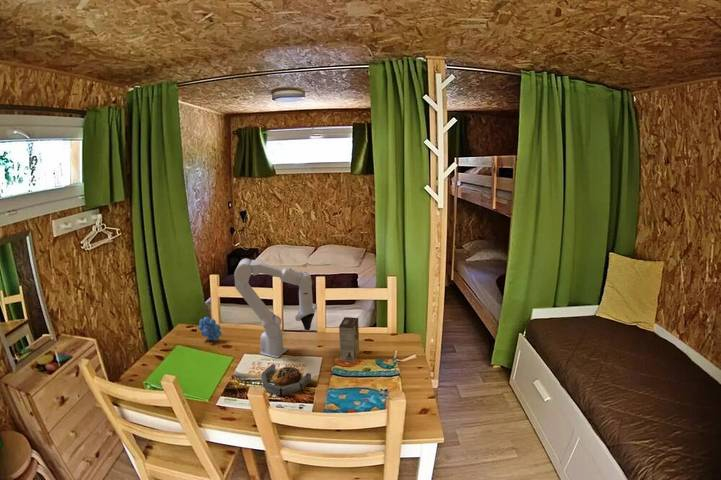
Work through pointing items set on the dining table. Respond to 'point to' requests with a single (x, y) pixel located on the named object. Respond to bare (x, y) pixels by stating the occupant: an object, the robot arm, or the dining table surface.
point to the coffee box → (349, 339)
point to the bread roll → (286, 376)
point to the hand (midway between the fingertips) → (307, 329)
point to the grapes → (209, 328)
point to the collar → (285, 389)
